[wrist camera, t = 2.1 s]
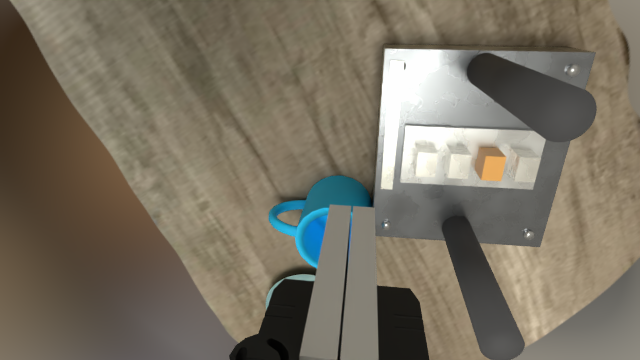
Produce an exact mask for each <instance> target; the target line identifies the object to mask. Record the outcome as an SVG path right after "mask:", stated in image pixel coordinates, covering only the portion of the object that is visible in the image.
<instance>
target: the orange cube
mask: <svg viewBox="0 0 640 360" xmlns="http://www.w3.org/2000/svg"><path fill="white" fill-rule="evenodd" d="M505 162H506V156H505V155H504V154H503V153H502V151H501V150H500V149H499V148H484V147H479V150H478V156H477V161H476V166H475V171H476V173H477V175H478V176H479V178H480V179H481V180H488V181H501V180H502V175H503V171H504V166H505Z"/></svg>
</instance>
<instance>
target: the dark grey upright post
mask: <svg viewBox="0 0 640 360" xmlns="http://www.w3.org/2000/svg"><path fill="white" fill-rule="evenodd" d="M442 232H443V235H444V238H445V241H446V245H447V248H448V251H449V254H450V257H451V260H452V263H453V266H454V270H455V273H456V276H457V279H458V282H459V285H460V288H461V291H462V295H463V298H464V301H465V304H466V307H467V310H468V313H469V316H470V320H471V323H472V326H473V329H474V332H475V335H476V338H477V342H478V345H479V348H480V351H481V352H482V354H483V355H484V356H485V357H487V358H489V359H491V360H511V359H513V358H515V357H517V356H518V355H520V354H521V352H522V351H523V349H524V346H525V343H524V340H523V337H522V335H521V333H520V331H519V329H518V327H517V324H516V322H515V320H514V318H513V316H512V314H511V311H510V309H509V307H508V305H507V303H506V300H505V298H504V296H503V294H502V292H501V290H500V287H499V285H498V283H497V281H496V279H495V277H494V274H493V272H492V270H491V268H490V266H489V263H488V261H487V259H486V257H485V255H484V253H483V250H482V248H481V246H480V244H479V242H478V240H477V237H476V235H475V233H474V231H473V229H472V226H471V224H470V222H469V221H468V220H467V219H466V218H465V217H462V216H452V217H450V218H448V219H447V220H445V222H444V223H443V225H442Z"/></svg>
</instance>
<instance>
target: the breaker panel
mask: <svg viewBox="0 0 640 360" xmlns="http://www.w3.org/2000/svg"><path fill="white" fill-rule="evenodd" d="M482 53H491V54H494V55H496V56H499V57H501V58H504V59H507V60H509V61H512V62H514V63H517V64H520V65H522V66H525V67H527V68H530V69H533V70H535V71H538V72H540V73H543V74H545V75H548V76H551V77H553V78H556V79H558V80H561V81H564V82H566V83H569V84H571V85H574V86H577V87H579V88H582V89H584V90H585V88H586V85H587V81H588V78H589V74H590V71H591V67H592V64H593V60H594V57H595V53H596V52H591V51H586V50H581V49H576V48H571V47H538V46H477V45H416V44H383V55H382V69H381V84H380V98H379V113H378V127H377V141H376V156H375V170H374V185H373V199H372V207H373V208H375V236H385V237H400V238H415V239H429V240H444V241H445V238H444V235H443V232H442V225H443V223H444V222H445V220H447V219H448V218H450V217H452V216H462V217H465V218H466V219H467V220H468V221H469V222H470V224H471V226H472V229H473V231H474V233H475V235H476V237H477V240H478V242H479V243H488V244H502V245H517V246H532V247H540V245H541V242H542V238H543V235H544V231H545V228H546V224H547V221H548V217H549V214H550V210H551V207H552V203H553V200H554V196H555V193H556V189H557V186H558V182H559V179H560V175H561V172H562V168H563V165H564V161H565V158H566V154H567V151H568V147H569V144H570V141H567V142H552V141H549V140H546V139H544V138H543V137H542V136H540V135H539V134H538V133H536V132H535V131H534V130H532V129H531V128H530V127H528V126H527V125H526V124H525V123H523V122H522V121H521V120H519V119H518V118H517V117H515V116H514V115H513V114H511V113H510V112H509V111H507V110H506V109H505V108H503V107H502V106H501V105H499V104H498V103H497V102H495V101H494V100H493V99H491V98H490V97H489V96H487V95H486V94H485V93H483V92H482V91H481V90H479V89H478V88H477V87H475V86H474V85H473V84H472V83H471V82H470V81H469V80H468V78H467V67H468V65H469V63H470V61H471V60H472V59H473V58H474V57H476V56H477V55H479V54H482ZM479 147H484V148H499V149H500V150H501V151H502V153H503V154H504V155H505V156H506V162H505V166H504V171H503V175H502V180H501V181H488V180H481V179H480V178H479V176H478V175H477V173H476V171H475V166H476V161H477V156H478V150H479Z"/></svg>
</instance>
